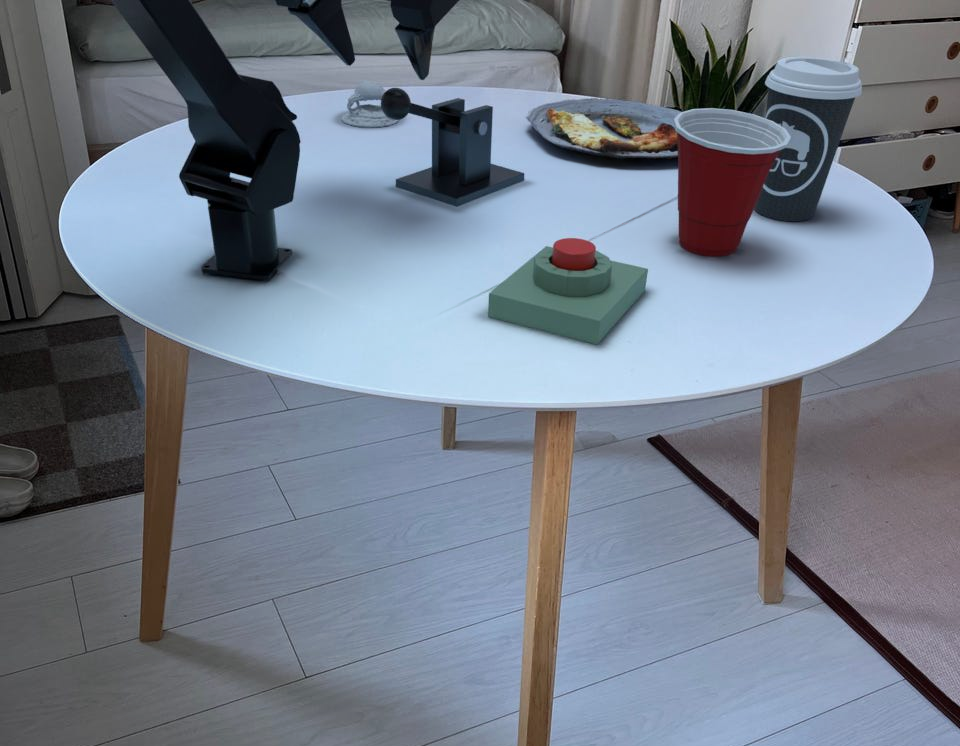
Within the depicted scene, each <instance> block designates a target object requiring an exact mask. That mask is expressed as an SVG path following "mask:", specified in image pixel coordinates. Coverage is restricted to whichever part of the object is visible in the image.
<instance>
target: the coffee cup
mask: <svg viewBox="0 0 960 746" xmlns="http://www.w3.org/2000/svg"><path fill="white" fill-rule="evenodd" d="M859 69H860V68H859V67H857V66H856V65H854V64H852V63H849V62H846V61H842V60H839V59H832V58H826V57H816V56H790V57H789V56H788V57H783V58H780V59H778V60H777V62H776V65H775V66H774V69H772V70H771V71H770V72H769V74H768V75H767V76H766V78H765V81H764V85H765V86H766V87H767V88H768V90H767V100H766V108H765V117H764V118H765V119H768V120H771V121H773V122H775V123H777V124H778V125H780V126H781V127H783V128H785V129H786V130H787V132H788V133H789V135H790V137H791V138H790V140H789V142H788V144H787V145H786V147H785V148H784V149H782V150H781V151H780V153H779V154H778V156H777V158H776V160H775V161H774V163H773V165H772V167H771V169H770V171H769V173H768V175H767V178H766V180H765V183H764V185H763V188H762V190H761V193H760V195H759V198H758V200H757V203H756V205H755V208H754V211H755V212H756V213H758V214H759V215H761V216H763V217H766V218H769V219H772V220H776V221H782V222H783V221H784V222H804V221H809V220H811V219H812V218H814V217H815V214H816V211H817V208H818V205H819V202H820V200H821V197H822V195H823V194H822V193H823V191H824V188H825V185H826V182H827V179H828V177H829V173H830V171H831V167H832V165H833V162H834V160H835V156H836V153H837V150H838V149H839V148H838V147H839V144H840V142H841V139H842V137H843V134H844V130H845V127H846V125H847V122H848V119H849V116H850V113H851V111H852V108H853V106H854V103H855V100H856V98H857V97H859V96H861V95H862V93H863V85H862V80H861V79H860V78H859V76H860V70H859Z"/></svg>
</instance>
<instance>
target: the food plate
mask: <svg viewBox="0 0 960 746" xmlns="http://www.w3.org/2000/svg"><path fill="white" fill-rule="evenodd" d="M681 112H682V111H680V110H678V109H674V108H669V107H665V106H659V105H654V104H648V103H645V102H639V101H632V100H623V99H612V98H599V97H591V98H581V99H575V98H573V99H564V100H560V101H554V102H549V103H545V104H541V105H538V106H536V107H533V108H531V109H530V110H529V111H528V113H527V115H526V116H525V119H526V121H528V122H529V123H530V125H531V126H532V128H534V130H535V131H537V132H538V134H539V135H541V136H542V137H543V138H544V140H546V141H548V142H549V143H551V144H552V145H555V146H557V147H559V148H563V149H567V150H569V151H571V150H572V151H574V152H575V151H576V152H579V153H584V154H590V155H591V156H593V155H594V156H599V157H600V156H603V157H610V158H614V159H615V158H616V159H618V160H620V159H630V158H631V159H635V158H636V159H640V158H641V159H646V160H648V159H659V158H660V159H661V158H662V159H668V160H671V159H676V158H678V143H677V131H676V128H675V125H674V119H675V118H676V116H677V115H678V114H679V113H681Z"/></svg>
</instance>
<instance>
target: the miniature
mask: <svg viewBox="0 0 960 746" xmlns="http://www.w3.org/2000/svg"><path fill="white" fill-rule="evenodd" d="M386 91H387V90H385V89H384V87H383V85H381V84H380V83H378V82H377V81H370V80H364V81H361V82H360V83H359V84H357V86H356V87H355V89H354V93H353V94H351V95H350V97H348V98H347V103H346V109H347V110H348V112H346V113H344V114H343V115H342V116H341V121H342V122H343V124H346V125H348V126H353V127H357V128H358V127H360V128H385V127H389V126H393V125H396V124H397V123H398V122H399V121H400V120H392V119H390V118H388V117H387V116H386V115H385V114H384V113H383V111H382V108H381V104H370V103H369V104H360V102H366V101H381V98H382V96H383V94H384V93H385V92H386ZM354 103H355V104H356V106H355V107H353V106H354ZM352 107H353V108H352Z"/></svg>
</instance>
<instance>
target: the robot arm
mask: <svg viewBox="0 0 960 746" xmlns="http://www.w3.org/2000/svg"><path fill="white" fill-rule="evenodd" d="M274 1H275V3H276V6H279V7H286V8H287V11H288V13H289V14H290V15H292V16H295V17H296V18H298V19H299V21H301V22H302V23H303V24H304V25H305V26H306V27H307V28H308V29H310V31H312V32H313V33H314V34H315V35H316V36H317V37H318V38H319V39H320V40H321V41H322V42H323V43H324V44H325V45H326V46H327V47H328V48H329V49H330V50H331V51H332V52H333V53H334V54H335V55H336V56H337V57H338V58H339V59H340V60H341V61H342V62H343V63H344V65H346V66H348V67H351V66H352V65H353V64H354V63H355V62H356V56H355V51H354V46H353V41H352V38H351V34H350V32H349V27H348V24H347V21H346V16H345V13H344V9H343V4H342V2H343V1H342V0H274ZM386 1H387V2H388V1H389V2H390V4H389V5H390V10H391V13H392V17H393V18H394V19H395V20H396V22H398V24H397V25H396V26H395V27H394V30H395V33H396V36H397V37H398V39H399V42H400V43H401V45H402V48H403V49H404V51H405V54H406V56H407V58H408V60H409V62H410V64H411V67H412V69H413V70H414V73H415V74H416V75H417V77H418V79H419V80H420V81H425V80H426V79H427V77H428V76H429V74H430V67H431V66H430V65H431V59H432V51H433V50H432V49H433V42H434V34H435V30H436V26H437V25H438V24H439V23H440V22H441V20H443V18H444V17H445V16H446V15H447V14H448V13H449V12H450V11H451V10H452V9H453V8H454V7H455V6H456V4H458V2H459V1H460V0H386ZM110 2H111V3H112V4H113V5H114V7H115V8H116V10H117V11H118V12H119V14H120V15H121V16H122V18H123V19H124V21H125V22H126V23H127V25H128V26H129V27H130V29H131V30H132V31H133V32H134V34H135V35H136V36H137V38H138V40H139V41H140V42H141V43H142V45H143V46H144V48H145V49H146V50H147V52H148V53H149V54H150V56H151V57H152V58H153V59H154V61H155V62H156V64H157V65H158V66H159V67H160V69H161V70H162V71H163V73H164V74H165V76H166V77H167V79H168V80H169V81H170V83H172V85H173V86H174V88H175V89H176V90H177V92H178V93H179V95H180V96H181V97H182V99H183V100H184V102H185V104H186V109H187V123H188V124H187V125H188V129H189V132H190V134H191V136H192V138H193V139H194V143H193V145H192V148H191V149H190V151H189V153H188V155H187V157H186V160H185V162H183V163H184V164H183V165H182V168H181V169H180V172H179V173H178V178H179V180H180V183H181V184H182V186H183V189H184V191H185V193H186V195H187V196H190V197H196V198H200V199H204V200H206V201H207V211H208V217H209V225H210V231H211V238H212V245H213V251H214V255H213V256H212V257H210V258H209V259H208V260H207V261H206V262H204V263H203V264H202V265H201V266H200V269H201V273H203V274H209V275H218V276H224V277H225V276H227V277H232V278H241V279H250V280H257V281H268V280H270V279H271V278H272V277H273V276H274V275H275V274H276V273H277V272H278V269H279V268H280V267H281V266H282V265H283V264H284V263H285V262H286V261H287V260H288V259H289V258H290V257H291V256H292V255H293V249H291V248H286V247H279V244H278V242H279V241H278V233H277V232H278V231H277V225H276V215H275V210H276V209H278V208H280V207H282V206H285V205H288V204H290V203H293V201H294V196H295V191H296V190H295V189H296V183H297V178H298V177H297V176H298V169H299V162H300V155H301V137H300V133H299V131H298V128H297V126H296V124H295V123H294V122H293V121H295V120H297V119H298V115H297V114H296V113H295V112H292V111H291V110H290V108H289V107H288V106H287V104H286V102H285V101H284V98H283V95H282V93H281V91H280V89H279V88H278V86H277V85H276V84H275V83H274V81H272V80H268V79H262V78H258V77H255V76H250V75H249V76H248V75H244V74H239V73H238V72H237V70H236V69H235V67H234V65H233V64H232V63H231V61H230V60H229V58H228V56H227V55H226V53H225V52H224V51H223V49H222V47H221V45H220V44H219V42H218V41H217V40H216V38H215V37H214V35H213V34H212V32H211V30H210V29H209V27H208V26H207V24H206V22H205V21H204V20H203V18H202V17H201V15H200V14H199V12H198V11H197V9H196V8H195V6H194V4H193V3H192V1H191V0H110ZM231 174H233V175H236V176H241V177H245V178H247V179H250V181H246V180H242V179H239V178H235V177H233V176H231Z"/></svg>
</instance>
